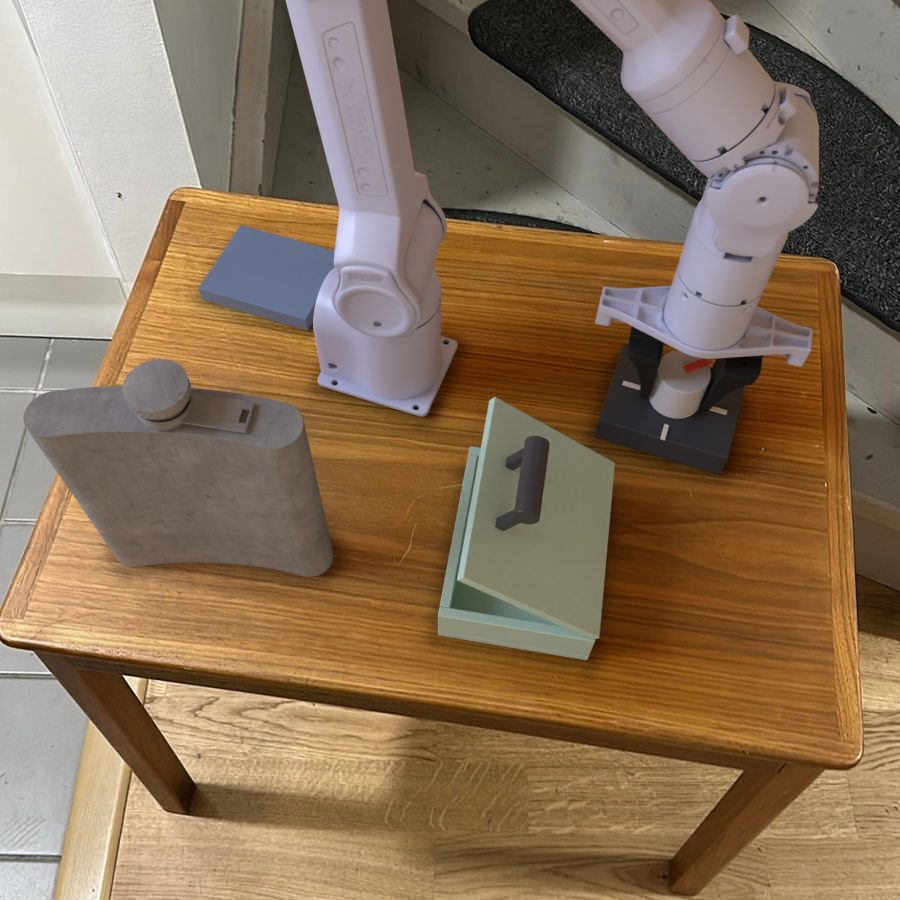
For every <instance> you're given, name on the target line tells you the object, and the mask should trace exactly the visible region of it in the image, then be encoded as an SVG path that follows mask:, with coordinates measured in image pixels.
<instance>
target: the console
mask: <svg viewBox="0 0 900 900" xmlns="http://www.w3.org/2000/svg"><path fill="white" fill-rule="evenodd" d="M665 354H666V353H662V356H661V358H662V357H663V356H664V355H665ZM615 365H616V366H615V369H614V371H613V375H612V377H611V381H610V384H609V387H608V390H607V393H606V397H605V399H604V402H603V405H602V407H601V408H602V409H601V412H600V414H599V416H598V417H599V418H598V421H597V424H596V428H595V431H594V436H593V437H594V438H595V439H598V440H603V441H605V442H609V443H612V444H615V445H619V446H622V447H626V448H628V449H633V450H634V451H638V452H641V453H645V454H649V455H652V456H655V457H659V458H662V459H665V460H669V461H672V462H676V463H679V464H682V465H685V466H689V467H693V468H696V469H699V470H703V471H706V472H708V473H711V474H712V473H713V474H715V475H721V473H722V470H723V469H724V467H725V465H726V464H727V461H728V459H729V456H730V454H731V453H730V452H731V448H732V445H733V440H734V435H735V432H736V428H737V427H736V426H737V422H738V418H739V414H740V410H741V406H742V402H743V401H742V400H743V396H744V392H745V388H746V386H744V387H741V388H738V389H736V390H734V391H732V392H730V393H729V394H727V395H726V396H724V397H723V398H722V399H721V400H719V401H718V402H717V403H716V404H715V405H714V406H713V407H712V408H711V409H710V410H709V411H708V412H706V411H701V410H700V406H699V408H698V410H697V411H696V412H695V413H694V414H692V415H691V416H689V417H686V418H682V419H674V418H669V417H666V416H664V415H662V414H660V413H659V412H657V411H656V410H655V409H654V407H653V406H652V404H651V403H650V400H649V399H646V398H642V397H640V380H639V376H638V372H637V370H636V367H635V365H634V364H633V362H632V361H631V360H630V359H629V356H628V343H625V342H624V343H623V344H622V347H621V351H620V354H619V356H618V360H617V362H616V364H615ZM709 367H710V370H711V369H712V367H713V366H709Z"/></svg>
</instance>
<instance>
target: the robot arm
mask: <svg viewBox="0 0 900 900" xmlns="http://www.w3.org/2000/svg"><path fill="white" fill-rule="evenodd" d="M570 1H571V3H573V4H574V6H576V7H577V8H578V10H580V11H581V12H582V14H584V15H585V16H586V17H587V18H588V19H589V20H590V21H591V22H592V23H593V24H594V25H595V26H596V27H597V28H598V29H600V31H601V32H602V33H603V34H604V35H605V36H606V37H607V38H608V39H609V40H610V41H611V42H612V43H613V44H615V45H616V47H618V48H619V49H620V50H621V51H622V55H623V56H622V62H621V68H620V70H621V71H620V82H621V87H622V88H623V89H624V91H626V93H627V94H628V95H629V96H630V97H631V98H632V100H633V101H634V102H635V103H636V104H637V105H638V107H640V108H641V109H642V110H643V112H644V113H645V114H646V115H647V116H648V117H649V118H650V119H651V120H652V121H653V122H654V124H655V125H656V126H657V127H658V128H659V129H660V130H661V131H662V133H664V135H666V137H667V138H668V139H669V140H670V141H671V142H672V143H673V145H675V147H676V148H677V149H678V150H679V151H680V152H681V153H682V154H683V155H684V157H686V159H687V160H688V161H689V162H690V163H691V164H692V165H693V166H694V167H695V168H696V169H697V170H698V171H699V172H700V173H702V174H703V175H704V176H705V177H706V178H707V181H706V184H705V188H704V190H703V194H702V197H701V199H700V200H699V201H698V204H697V205H696V206H695V209H694V213H693V216H692V218H691V222H690V225H689V229H688V231H687V235H686V238H685V241H684V245H683V247H682V250H681V254H680V257H679V260H678V262H677V265H676V266H677V267H676V269H675V272H674V275H673V278H672V282H671V284H670V285H660V286H644V287H627V288H626V287H625V288H624V287H623V288H621V287H613V286H607V285H603V286H602V290H601V294H600V298H599V302H598V303H599V304H598V307H597V311H596V316H595V321H594V324H595V325H598V326H599V325H600V326H604V327H609V326H611V324H612V321H614V322H619V323H624V324H627V325H629V326H630V332H629V338H628V342H627V344H628V356H629V359H630V360H631V361H632V362H633V364H634V365H635V367H636V370H637V372H638V376H639V380H640V397H642V398H646V399H649V396H650V393H651V388H652V383H653V378H654V376H655V373H656V371H657V369H658V367H659V365H660V362H661V356H662V354H663V350H664V345H665V344H666V345H667V346H669V347H671V348H673V349H675V350H679V351H681V352H683V353H685V354H687V355H690V356H693V357H697V358H704V359H707V360H715V361H714V363H713V365H712V366H711V367H712V369H711V380H710V383H709V385H708V387H707V390H706V392H705V394H704V397H703V399H702V401H701V404H700V410H701V411H706V412H708V411H709V410H710V409H711V408H712V407H713V406H714V405H715V404H716V403H717V402H718V401H719V400H721V399H722V398H723V397H724V396H726V395H727V394H729V393H730V392H732V391H734V390H736V389H738V388H741V387H744V386H745V387H748V386H752V385H754V384H755V382H756V381H757V380H758V379H759V377H760V375H761V372H762V365H763V359H764V357H765V356H773V355H774V356H775V355H776V356H782V357H786V363H787V364H788V365H791V366H795V367H799V368H803V366H804V364H805V362H806V360H807V359H808V357H809V355H810V354H811V351H812V347H813V335H814V333H813V332H814V329H813V328H812V327H808V326H803V325H800V324H798V323H794V322H792V321H789V320H787V319H784V318H783V317H781V316H779V315H776V314H774V313H773V312H771V311H768V310H766V309H764V308H762V307H760V306H759V305H758V304H759V303H760V300H761V298H762V295H763V293H764V291H765V289H766V287H767V285H768V282H769V280H770V278H771V276H772V273H773V272H774V269H775V267H776V265H777V262H778V260H779V258H780V256H781V253H782V251H783V248H784V246H785V245H786V242H787V240H788V237H789V233H790V232H792V231H794V230H796V229H797V228H800V227H801V226H802V225H804V224H805V223H806V222H807V221H809V220H810V218H811V217H812V216H813V215H814V214H815V213H816V211H817V209H818V208H819V204H818V203H817V202H816V198H817V196H818V193H819V189H820V125H819V121H818V113H817V111H816V108H815V106H814V104H813V103H812V99H811V94H810V93H809V92H808V91H806V90H805V89H803V88H801V87H799V86H797V85H794V84H791V83H788V82H782V81H774V80H773V79H772V77H771V76H770V75H769V74H768V72H767V71H766V70H765V69H764V67H763V66H762V64H761V63H760V62H759V61H758V60H757V58H756V57H755V56H754V55H753V53H752V52H751V51H750V49H749V43H750V42H749V41H750V29H749V28H748V26H747V25H746V24H745V23H744V21H743V20H742V19H741V18H740V16H739V15H738V14H734V15H732V16H730V17H729V18H728V19H725V18H724V17H723V15H722V14H721V12H719V10H718V9H717V7H716V6H715V5H714V4H713V3H712V2H711V1H710V0H570ZM285 4H286V7H287V12H288V15H289V19H290V24H291V27H292V31H293V34H294V39H295V41H296V47H297V50H298V54H299V58H300V61H301V66H302V69H303V74H304V77H305V81H306V85H307V89H308V92H309V93H308V94H309V97H310V100H311V104H312V108H313V111H314V115H315V118H316V119H315V120H316V123H317V127H318V131H319V134H320V139H321V142H322V146H323V150H324V154H325V158H326V162H327V165H328V166H327V167H328V170H329V173H330V177H331V180H332V185H333V189H334V192H335V196H336V200H337V204H338V220H337V227H336V237H335V244H334V251H335V252H334V266H335V268H333V269H332V270H331V271H330V272H329V274H328V275H327V276H326V278H325V280H324V282H323V284H322V286H321V288H320V291H319V293H318V296H317V300H316V304H315V309H314V317H313V322H312V325H313V326H312V329H313V335H314V341H315V346H316V352H317V357H318V362H319V369H320V373H319V374H318V376H317V384H318V385H319V386H320V387H322V388H325V389H329V390H331V391H334V392H338V393H342V394H344V395H348V396H351V397H354V398H358V399H362V400H364V401H367V402H371V403H374V404H378V405H381V406H384V407H387V408H390V409H394V410H397V411H400V412H404V413H406V414H410V415H413V416H417V417H421V418H422V417H423V418H424V417H426V416H428V414H429V412H430V410H431V409H432V405H433V403H434V401H435V399H436V397H437V395H438V393H439V390H440V388H441V385H442V383H443V381H444V379H445V376H446V374H447V372H448V369H449V368H450V365H451V363H452V361H453V358H454V357H455V355H456V352H457V350H458V347H459V346H458V345H459V344H458V341H457V340H455V339H454V338H449V337H445V336H443V335H442V285H441V281H440V278H439V275H438V273H437V271H436V268H435V264H436V260H437V257H438V255H439V254H438V253H439V250H440V247H441V244H442V243H443V241H444V240H445V237H446V234H447V229H448V223H447V222H448V221H447V218H446V215H445V213H444V211H443V209H442V208H441V207H440V205H439V204H438V203H437V201H436V200H435V199H434V197H433V195H432V193H431V191H430V187H429V181H428V177H427V175H426V174H424V173H421V172H418V171H416V170H415V167H414V160H413V154H412V149H411V142H410V135H409V130H408V129H409V128H408V124H407V123H408V122H407V118H406V117H407V116H406V110H405V105H404V99H403V93H402V87H401V82H400V80H401V79H400V74H399V68H398V62H397V56H396V50H395V44H394V38H393V31H392V26H391V25H392V24H391V19H390V13H389V8H388V1H387V0H285ZM446 343H447V344H446ZM335 384H336V385H335ZM415 408H417V409H415Z"/></svg>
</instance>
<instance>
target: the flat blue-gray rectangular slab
mask: <svg viewBox="0 0 900 900" xmlns="http://www.w3.org/2000/svg"><path fill="white" fill-rule="evenodd" d="M334 252H335V250H334V249H329V248H325V247H322V246H318V245H315V244H311V243H308V242H303V241H301V240H297V239H293V238H290V237H285V236H282V235H279V234H275V233H272V232H267V231H265V230H261V229H257V228H254V227H250V226H246V225H243V224H240V225H239V226H238V228H237V229H236V231H235V232H234V233H233V235H232V237H231V238H230V240H229V241H228V242H227V244H226V246H225V247H224V249H223V250H222V251H221V252H220V255H219V256H218V258H217V259H216V261H215V262H214V264H213V265H212V267H211V268H210V270H209V271H208V272H207V274H206V276H205V277H204V279H203V280H202V282H201V283H200V285H199V286H198V292H199V295H200V298H201V300H202V301H204V302H208V303H212V304H214V305H219V306H222V307H225V308H229V309H232V310H235V311H239V312H242V313H245V314H249V315H252V316H255V317H259V318H261V319H266V320H269V321H273V322H276V323H278V324H279V323H280V324H283V325H286V326H290V327H293V328H296V329H300V330H302V331H309V330H310V328H311V326H312V325H313V317H314V309H315V304H316V300H317V296H318V293H319V291H320V288H321V286H322V284H323V282H324V280H325V278H326V276H327V275H328V274H329V272H330V271H331V270H332V269H333V268H335V266H334Z"/></svg>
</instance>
